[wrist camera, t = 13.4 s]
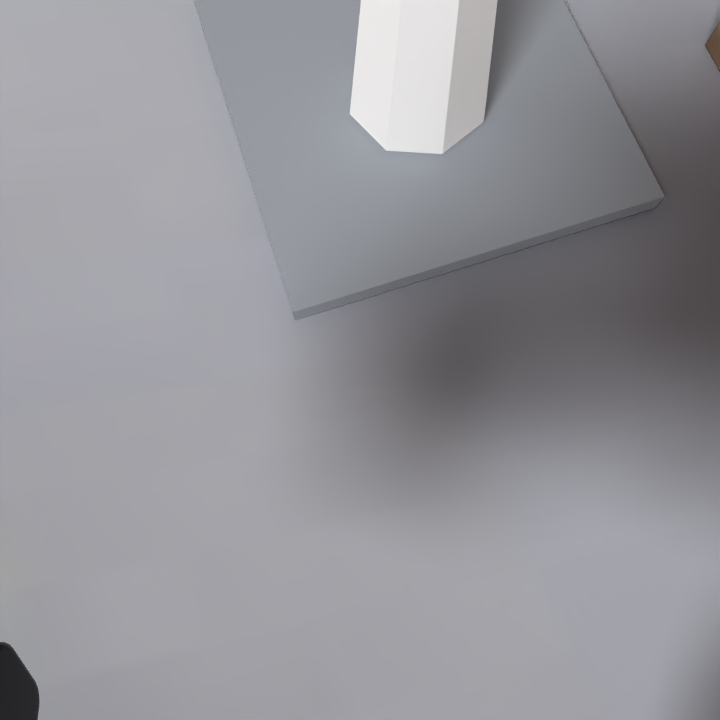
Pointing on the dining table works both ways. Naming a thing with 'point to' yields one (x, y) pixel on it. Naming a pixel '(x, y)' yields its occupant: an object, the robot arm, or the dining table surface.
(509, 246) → the slate grey mat
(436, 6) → the pepper shaker
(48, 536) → the dining table surface
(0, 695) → the robot arm
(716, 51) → the walnut collar
